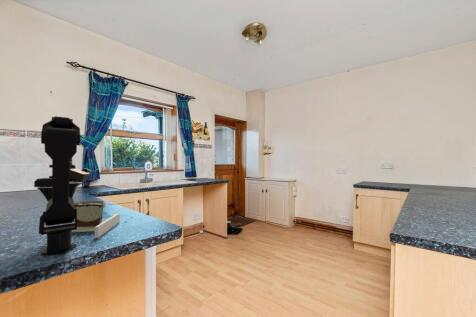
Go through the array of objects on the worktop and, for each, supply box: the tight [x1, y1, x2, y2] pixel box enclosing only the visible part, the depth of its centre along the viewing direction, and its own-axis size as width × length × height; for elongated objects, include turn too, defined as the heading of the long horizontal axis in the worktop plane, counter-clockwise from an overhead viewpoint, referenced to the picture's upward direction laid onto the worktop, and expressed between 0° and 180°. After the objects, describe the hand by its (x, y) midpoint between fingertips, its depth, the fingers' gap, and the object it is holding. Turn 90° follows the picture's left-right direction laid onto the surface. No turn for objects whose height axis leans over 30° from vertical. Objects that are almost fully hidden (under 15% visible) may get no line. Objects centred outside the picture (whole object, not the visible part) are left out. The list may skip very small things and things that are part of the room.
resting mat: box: [72, 221, 103, 233], centre depth 89 cm, size 12×15×1 cm
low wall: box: [94, 212, 121, 239], centre depth 87 cm, size 20×1×4 cm, turn 9°
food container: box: [74, 200, 106, 227], centre depth 91 cm, size 12×6×10 cm, turn 98°
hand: (61, 203), depth 79 cm, fingers open, 9 cm apart
